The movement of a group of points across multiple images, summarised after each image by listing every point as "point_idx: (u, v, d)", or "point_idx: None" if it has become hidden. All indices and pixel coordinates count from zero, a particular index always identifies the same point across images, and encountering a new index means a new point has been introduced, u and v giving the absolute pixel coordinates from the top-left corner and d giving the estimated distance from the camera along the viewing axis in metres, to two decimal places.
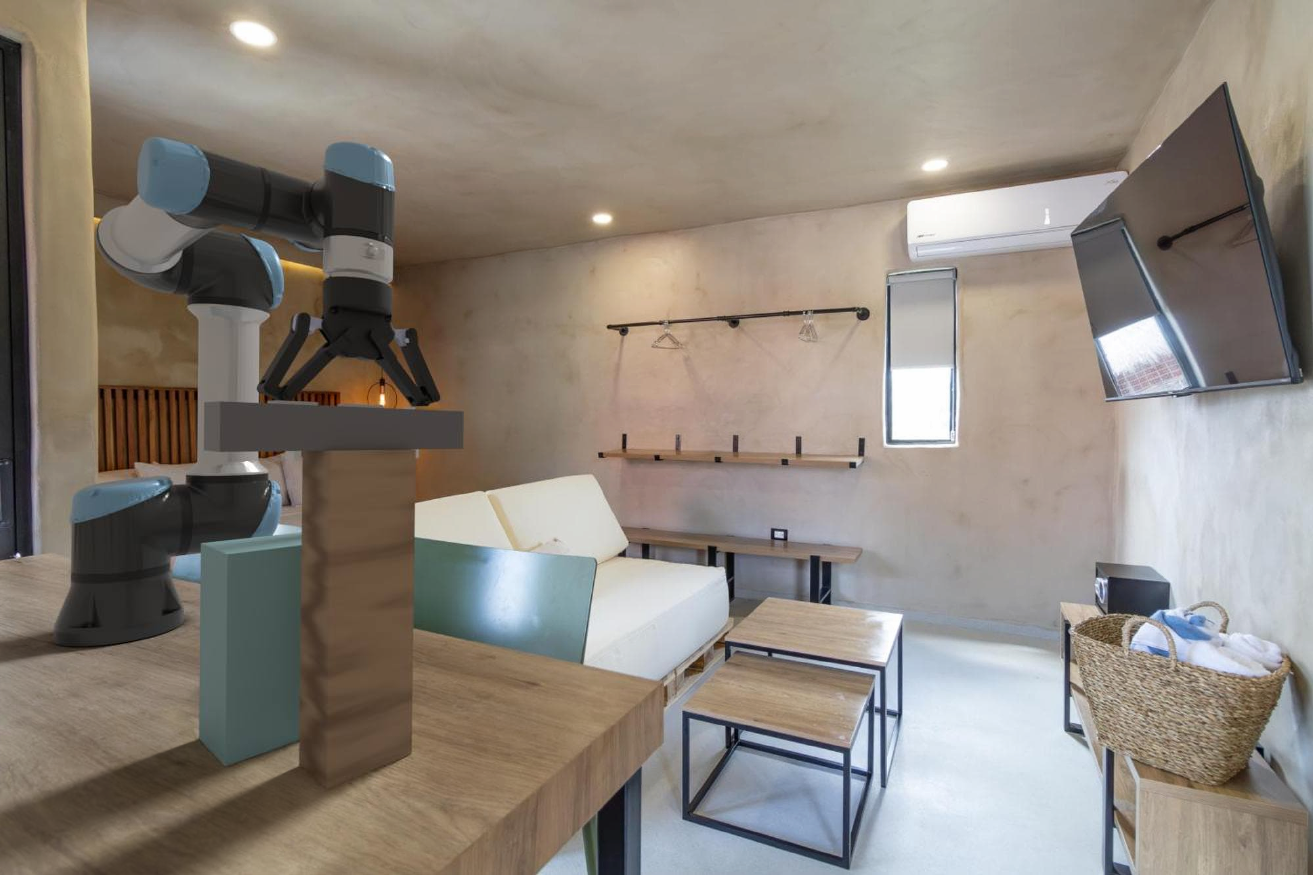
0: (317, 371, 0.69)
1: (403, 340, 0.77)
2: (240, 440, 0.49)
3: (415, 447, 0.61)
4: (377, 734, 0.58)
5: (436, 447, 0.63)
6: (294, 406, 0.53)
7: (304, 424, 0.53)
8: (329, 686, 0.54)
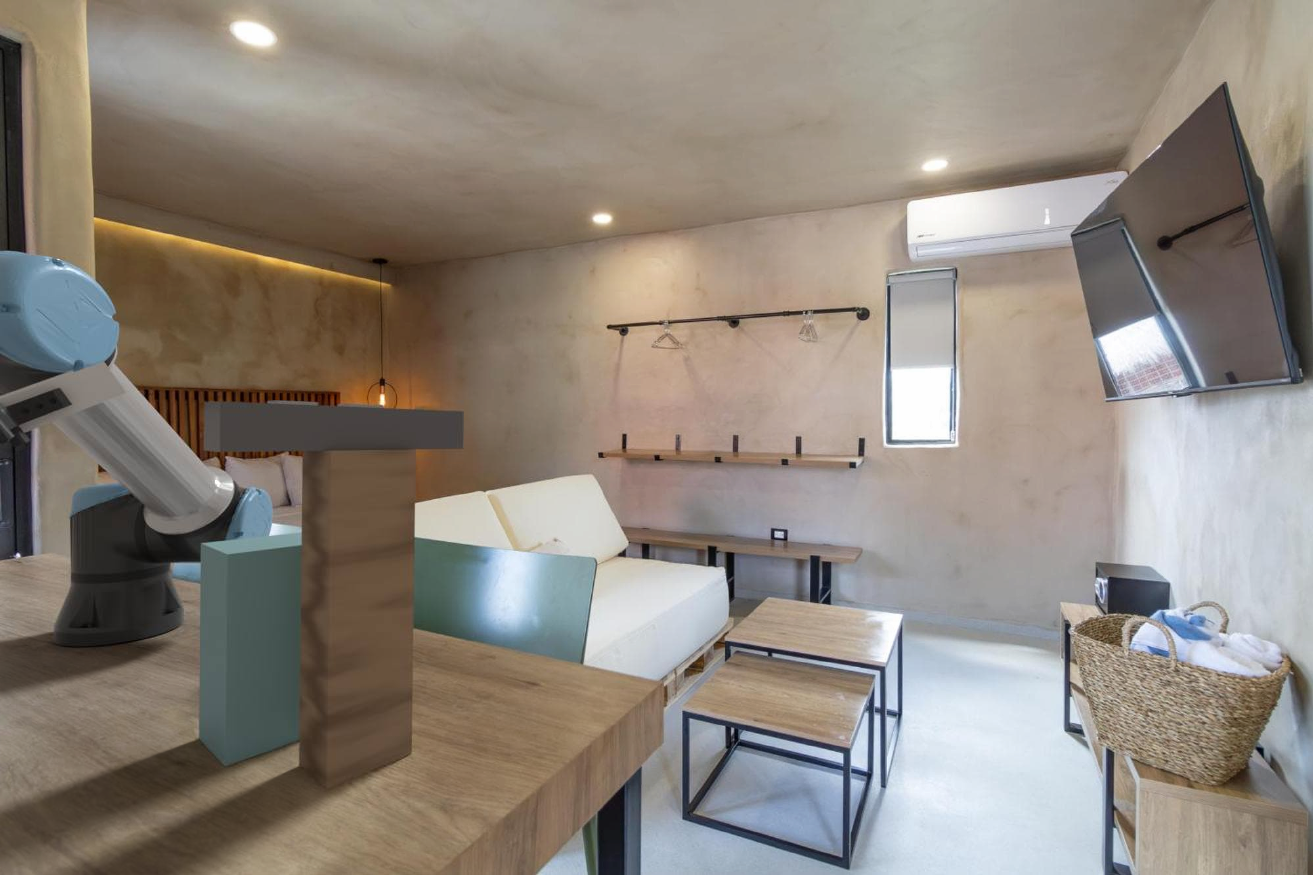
0: None
1: None
2: (240, 440, 0.49)
3: (415, 447, 0.61)
4: (377, 734, 0.58)
5: (436, 447, 0.63)
6: (294, 406, 0.53)
7: (304, 424, 0.53)
8: (329, 686, 0.54)
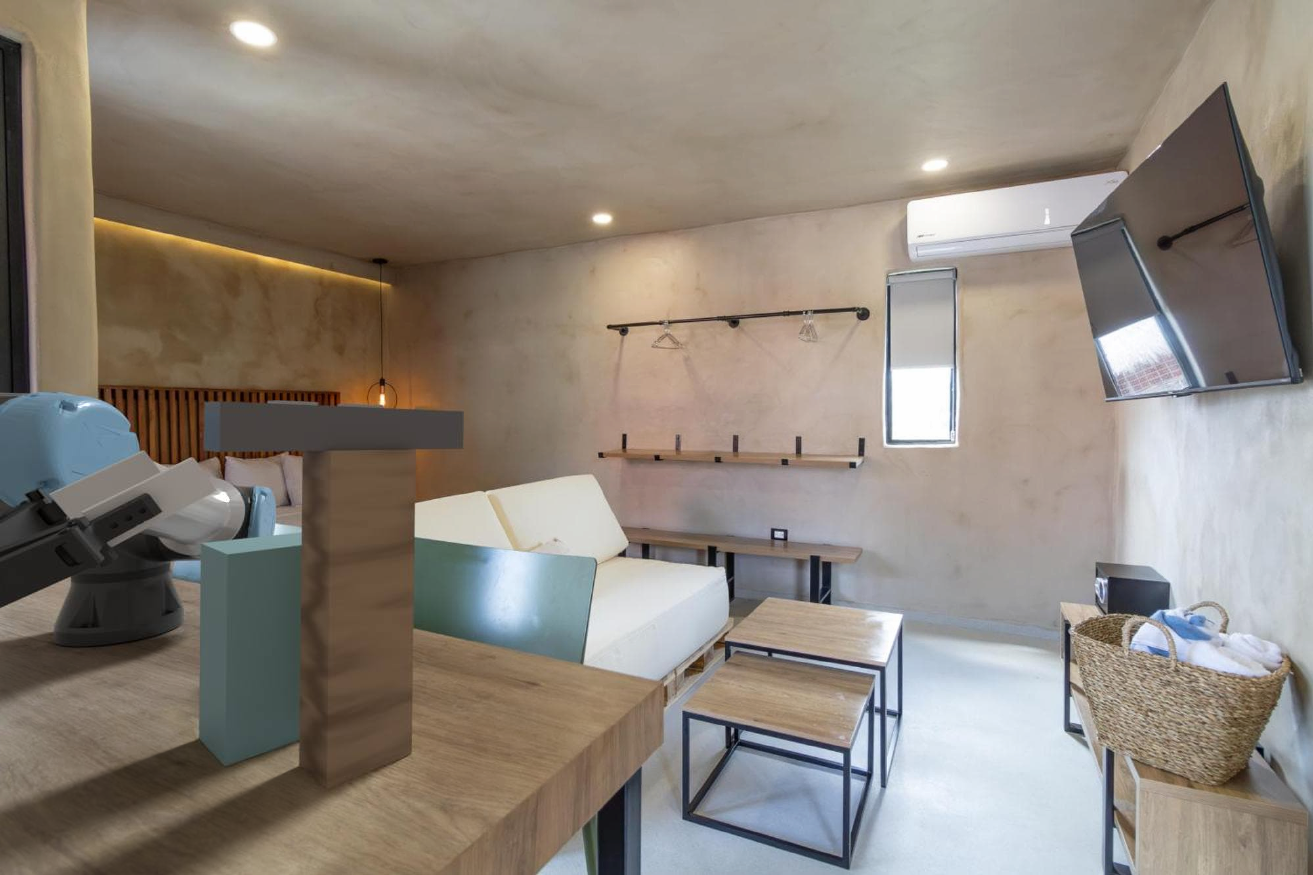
0: None
1: None
2: (240, 440, 0.49)
3: (415, 447, 0.61)
4: (377, 734, 0.58)
5: (436, 447, 0.63)
6: (294, 406, 0.53)
7: (304, 424, 0.53)
8: (329, 686, 0.54)
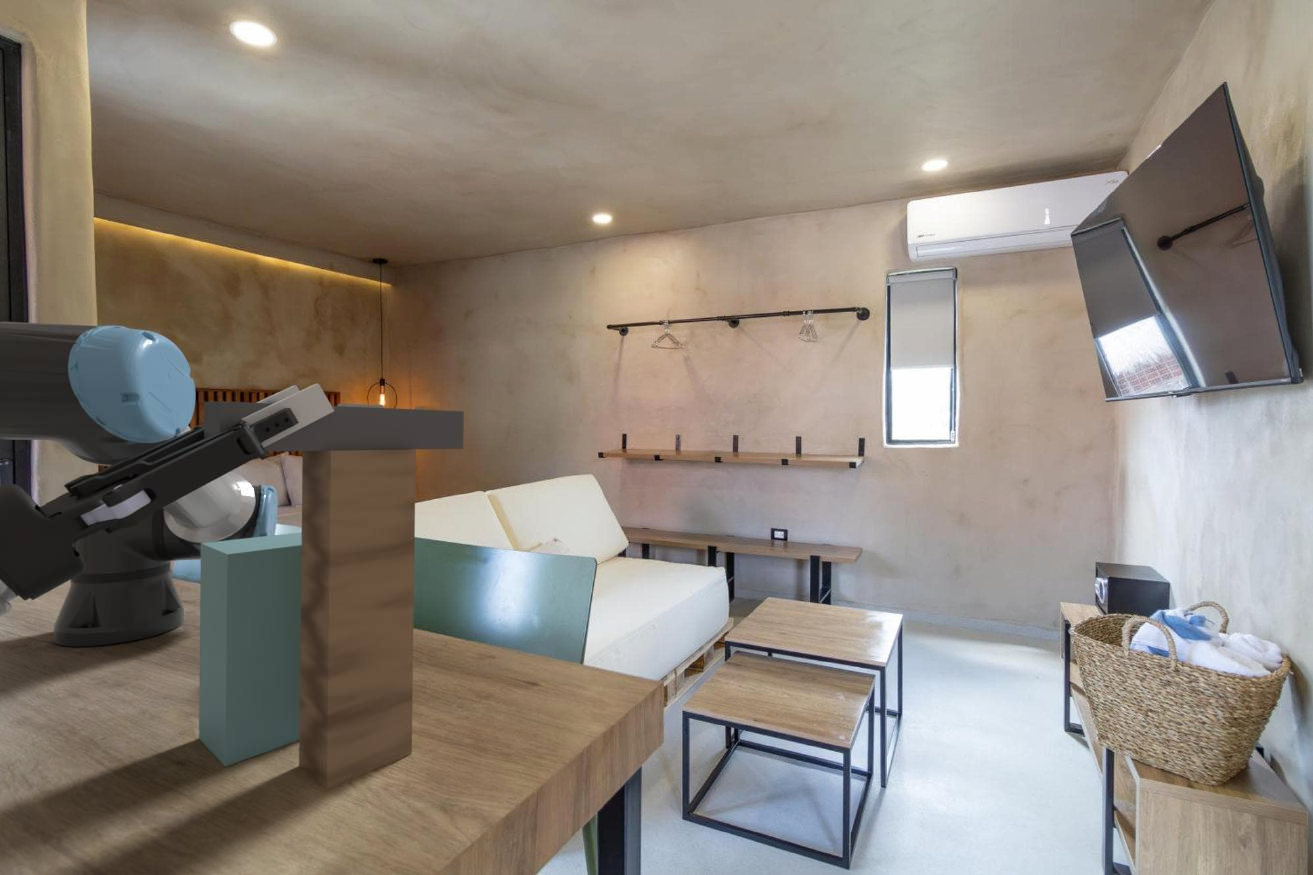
0: None
1: None
2: None
3: (415, 447, 0.61)
4: (377, 734, 0.58)
5: (436, 447, 0.63)
6: None
7: None
8: (329, 686, 0.54)
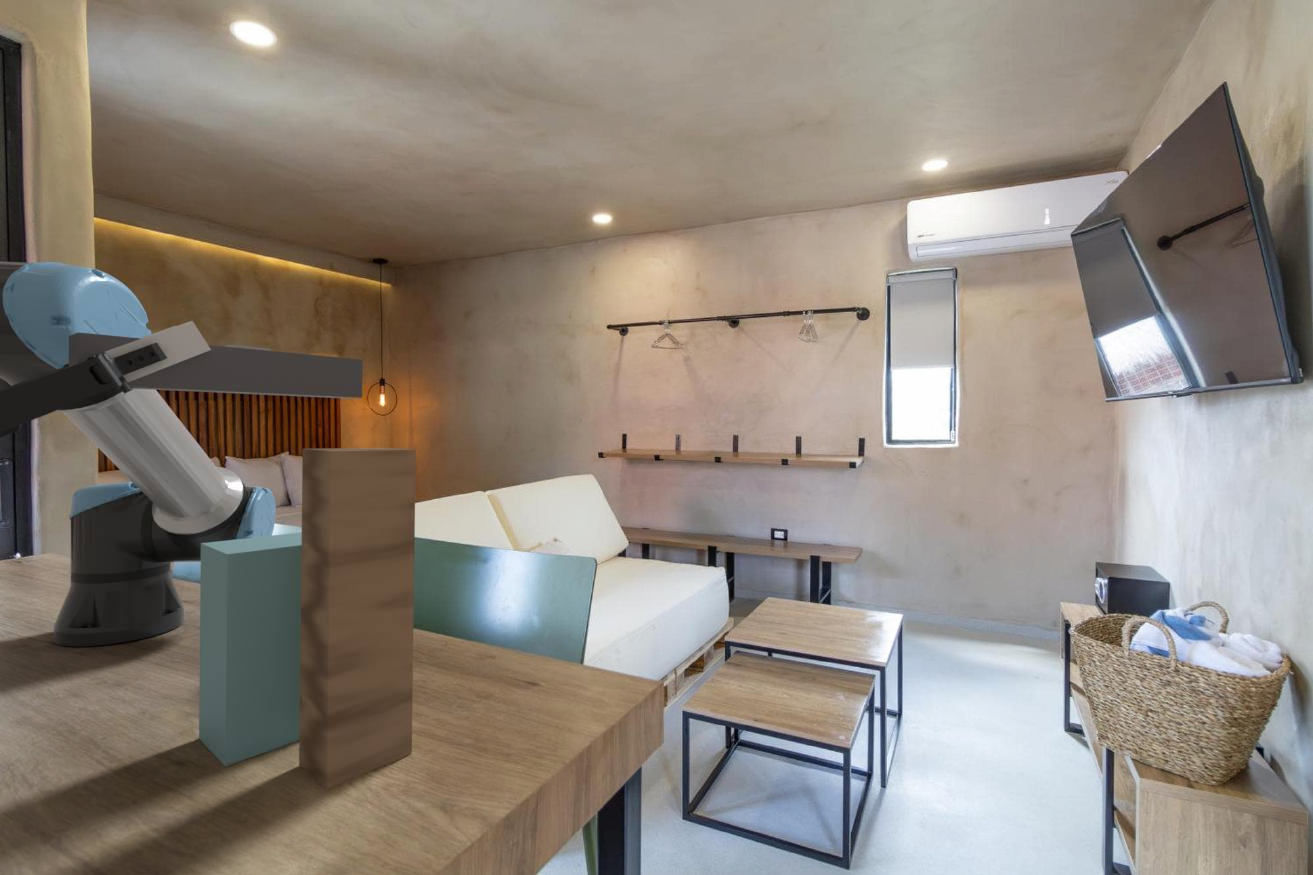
0: None
1: None
2: None
3: (306, 393, 0.60)
4: (377, 734, 0.58)
5: (331, 394, 0.62)
6: None
7: None
8: (329, 686, 0.54)
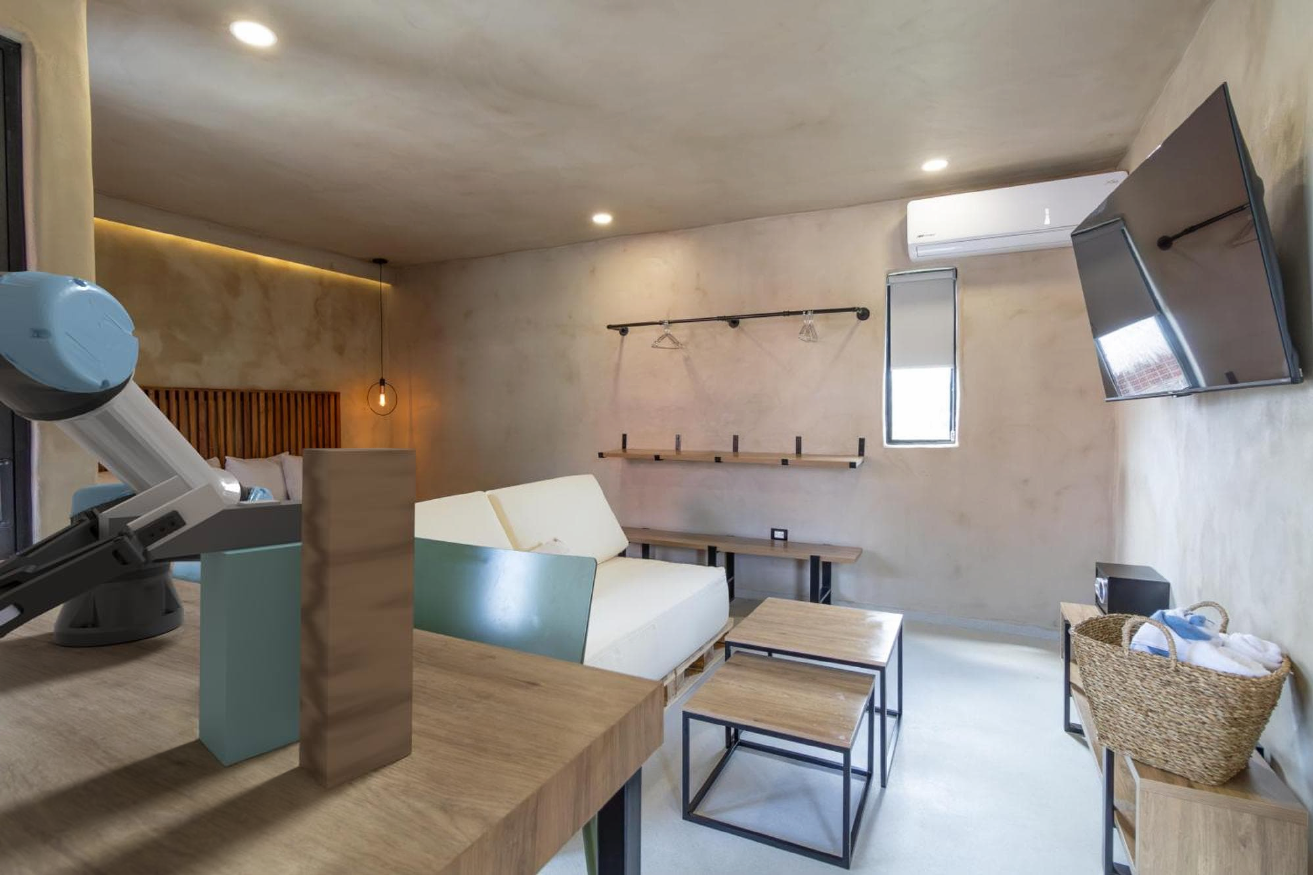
0: None
1: None
2: None
3: None
4: (377, 734, 0.58)
5: None
6: None
7: (196, 529, 0.57)
8: (329, 686, 0.54)
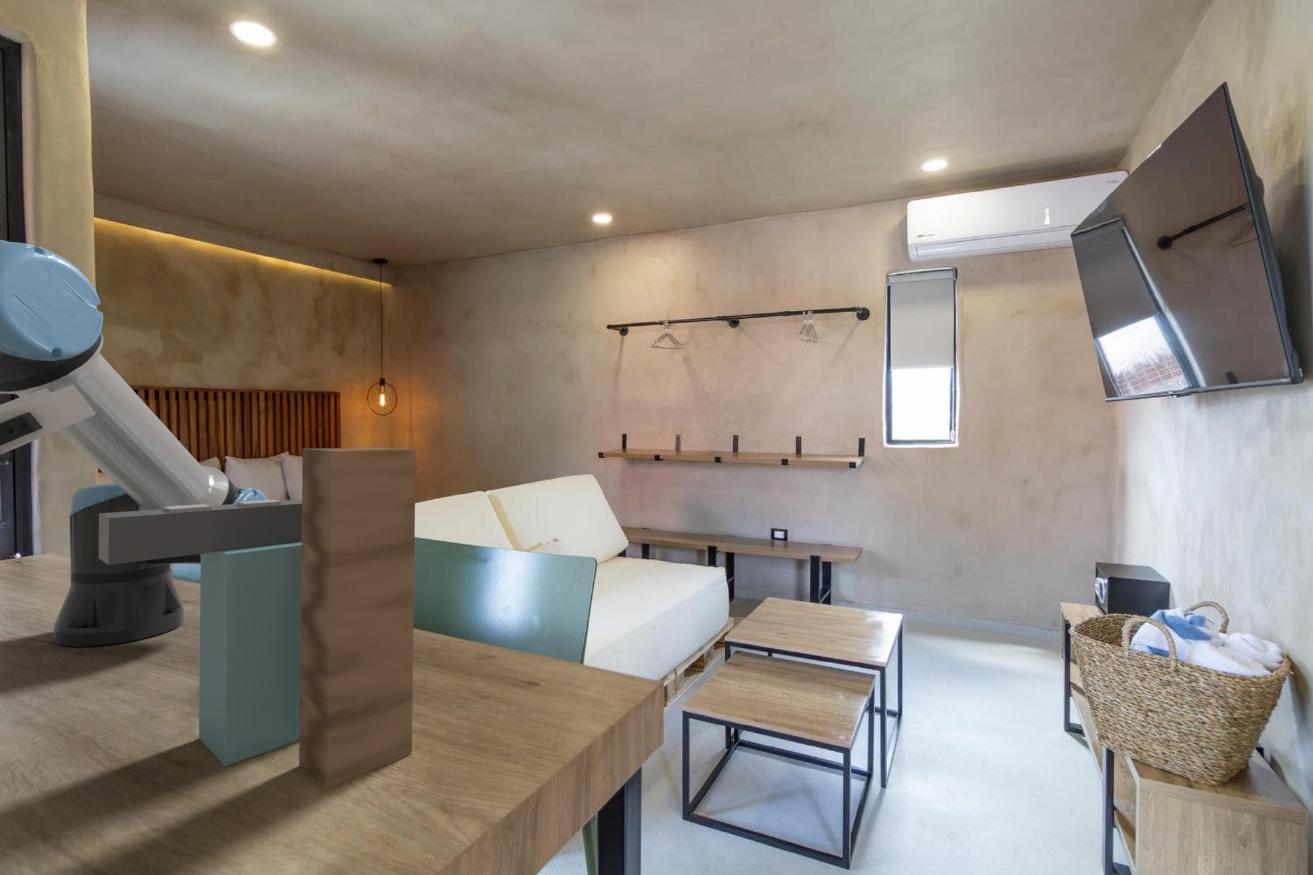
0: None
1: None
2: (130, 552, 0.53)
3: None
4: (377, 734, 0.58)
5: None
6: (186, 513, 0.57)
7: (196, 529, 0.57)
8: (329, 686, 0.54)
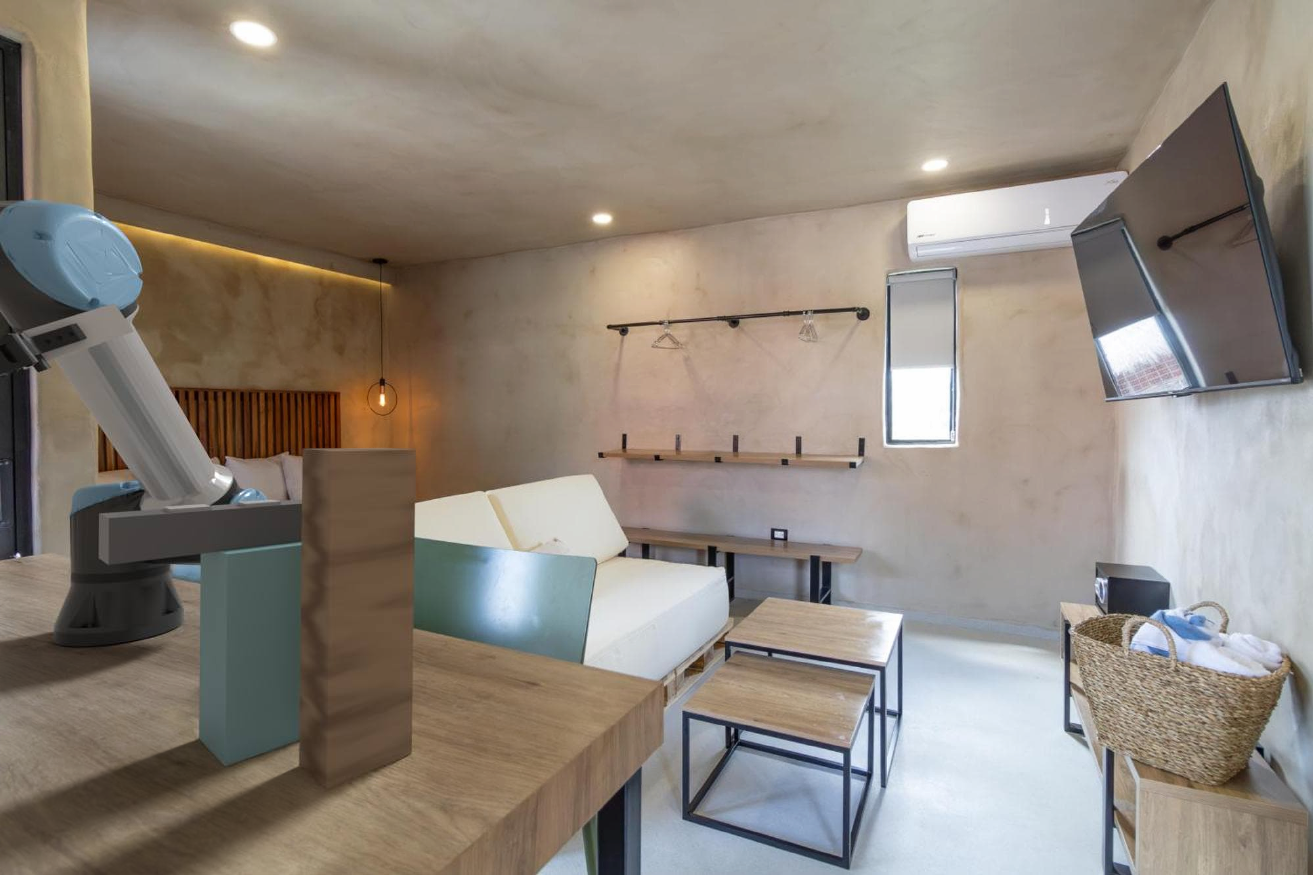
0: None
1: None
2: (130, 552, 0.53)
3: None
4: (377, 734, 0.58)
5: None
6: (186, 513, 0.57)
7: (196, 529, 0.57)
8: (329, 686, 0.54)
